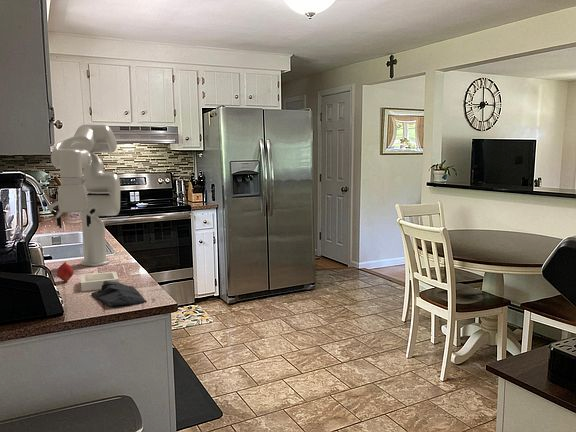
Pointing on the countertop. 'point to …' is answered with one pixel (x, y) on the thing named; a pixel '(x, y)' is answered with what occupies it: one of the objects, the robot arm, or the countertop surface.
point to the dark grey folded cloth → (118, 294)
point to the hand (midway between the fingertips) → (74, 226)
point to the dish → (97, 280)
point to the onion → (65, 272)
